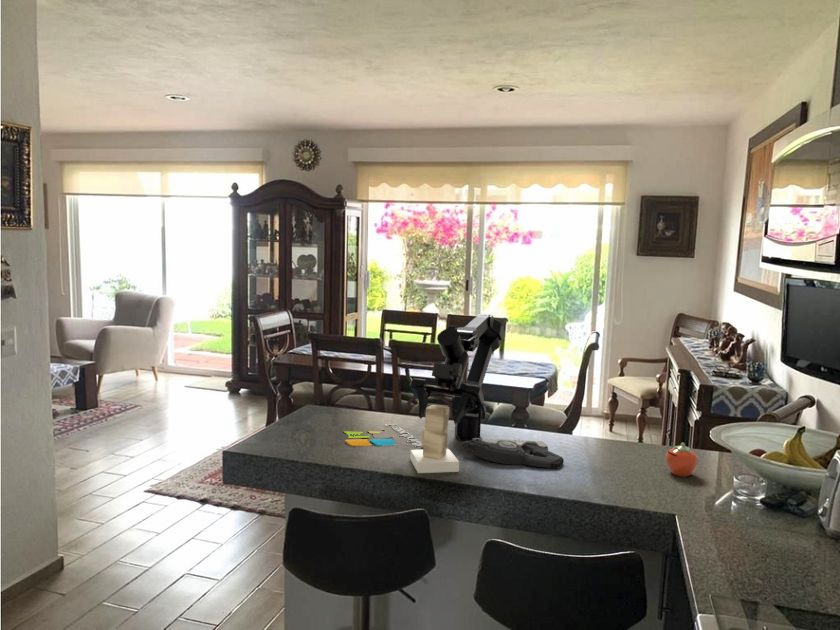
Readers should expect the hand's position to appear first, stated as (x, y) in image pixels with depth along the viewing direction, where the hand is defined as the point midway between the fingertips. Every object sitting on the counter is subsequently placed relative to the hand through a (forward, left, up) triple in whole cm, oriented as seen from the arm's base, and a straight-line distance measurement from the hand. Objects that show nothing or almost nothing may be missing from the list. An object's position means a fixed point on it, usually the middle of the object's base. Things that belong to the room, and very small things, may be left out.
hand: (437, 420), depth 150 cm
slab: (+1, +1, -12) cm, 12 cm away
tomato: (-59, +13, -11) cm, 62 cm away
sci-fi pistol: (-21, -1, -12) cm, 24 cm away
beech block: (+1, +1, -9) cm, 9 cm away
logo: (+12, -23, -12) cm, 28 cm away
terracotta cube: (-2, -12, -11) cm, 17 cm away
